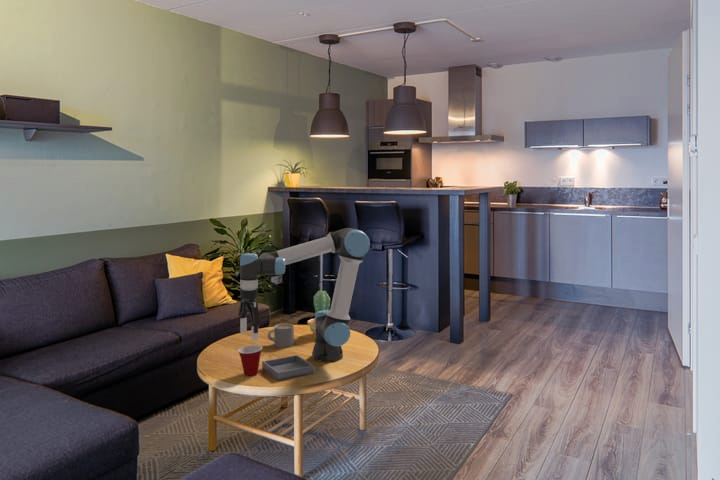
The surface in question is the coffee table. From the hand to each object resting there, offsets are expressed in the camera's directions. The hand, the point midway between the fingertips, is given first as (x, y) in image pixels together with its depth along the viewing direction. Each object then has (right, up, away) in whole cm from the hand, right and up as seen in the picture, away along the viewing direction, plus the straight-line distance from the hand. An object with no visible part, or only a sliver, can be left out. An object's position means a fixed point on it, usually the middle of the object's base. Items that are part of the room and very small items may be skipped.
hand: (249, 336), depth 244 cm
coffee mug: (+8, -13, +46) cm, 48 cm away
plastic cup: (0, -18, +2) cm, 18 cm away
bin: (+16, -17, +6) cm, 24 cm away
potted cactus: (+27, -11, +63) cm, 70 cm away
